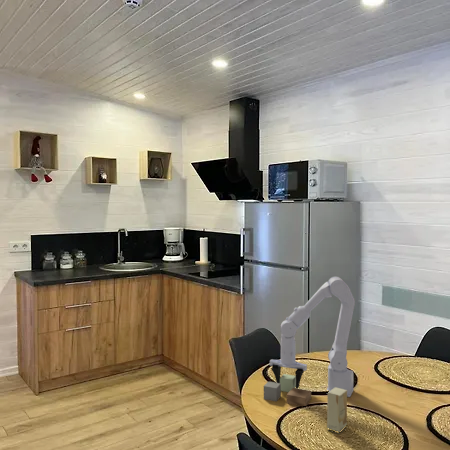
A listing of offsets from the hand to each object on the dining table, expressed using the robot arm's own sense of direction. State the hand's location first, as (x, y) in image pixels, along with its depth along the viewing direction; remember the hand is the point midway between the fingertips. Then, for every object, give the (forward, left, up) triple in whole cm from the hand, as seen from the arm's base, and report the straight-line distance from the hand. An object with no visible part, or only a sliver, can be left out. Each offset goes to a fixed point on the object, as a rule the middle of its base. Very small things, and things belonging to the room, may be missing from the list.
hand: (288, 385), depth 179 cm
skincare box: (-24, +24, -2) cm, 34 cm away
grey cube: (+3, +10, -2) cm, 11 cm away
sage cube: (0, 0, -2) cm, 2 cm away
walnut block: (-7, +9, -2) cm, 12 cm away
